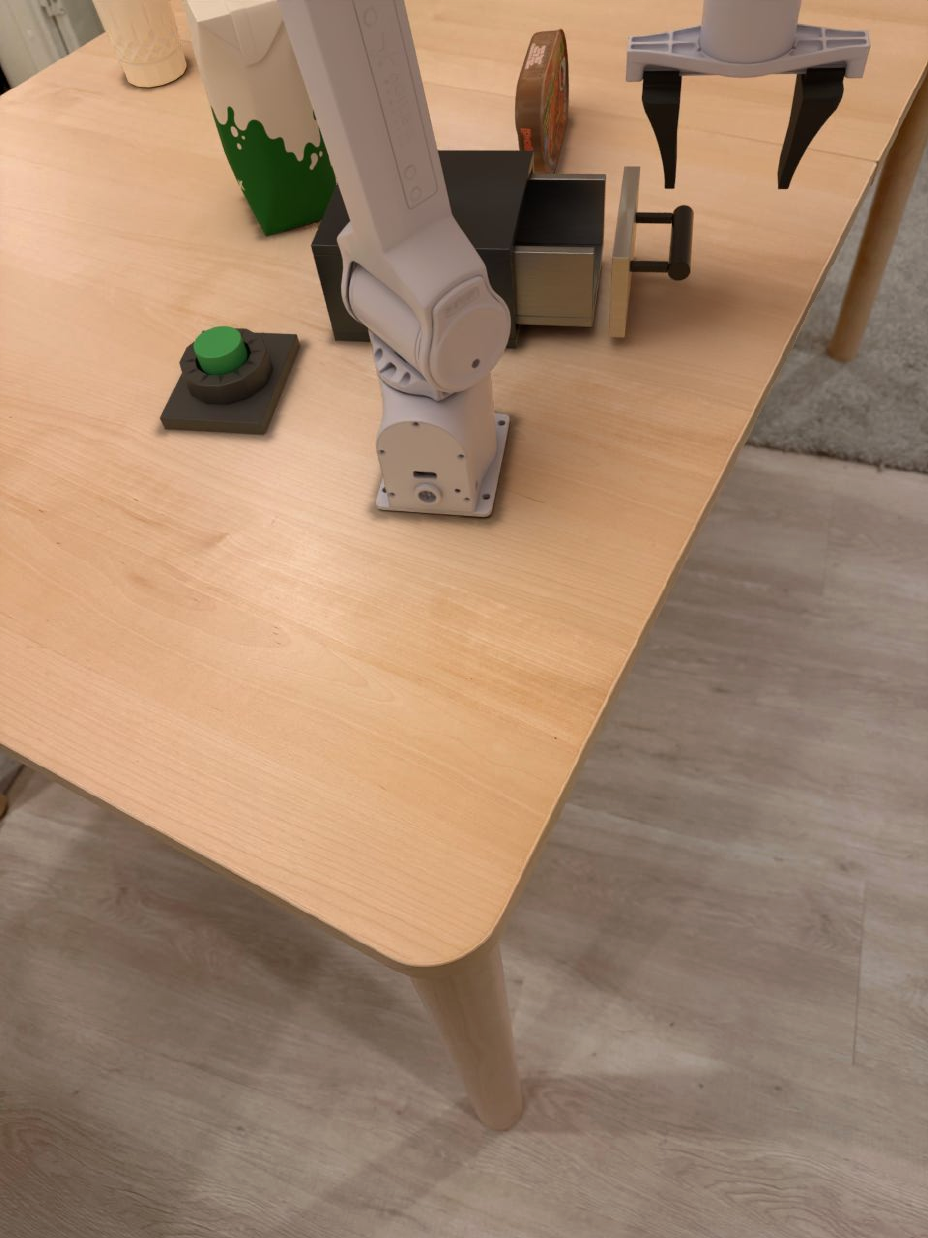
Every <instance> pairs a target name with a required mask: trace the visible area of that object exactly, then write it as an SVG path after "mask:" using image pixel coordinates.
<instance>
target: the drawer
mask: <svg viewBox="0 0 928 1238" xmlns="http://www.w3.org/2000/svg"><path fill="white" fill-rule="evenodd" d="M640 177H641V166H639V165H638V166H635V165H633V166H632V165H630V166H629V165H625V166H624V168H623V174H622V182H621V190H620V195H619V205H618V211H617V212H618V213H617V217H616V218H617V219H616V225H615V226H616V227H615V234H614V241H613V248H612V256H611V273H610V274H611V275H610V276H611V277H610V297H609V319H608V337H609V338H626V329H627V321H628V314H629V313H628V312H629V303H630V294H631V286H632V276H633V273H661V274H667V275H668V277H669V278H670V279H671V280H673V281H676V282H681V281H684V280H686V279H688V277H690V274H691V271H692V270H691V268H692V252H693V251H692V250H693V237H694V236H693V235H694V218H695V217H694V216H695V212H694V209H693V208H692V207H691V206H689V205H687V204H681V205H678V206H677V207H675V208H674V209H673V211H672V212H659V211H657V212H656V211H655V212H654V211H653V212H651V211H649V212H647V211H639V209H638V208H639V196H640V195H639V193H640ZM606 192H607V173H553V174H530V178H529V182H528V187H527V191H526V195H525V200H524V204H523V208H522V213H521V217H520V221H519V225H518V230H517V234H516V238H515V243H514V247H513V251H512V256H513V274H514V291H515V309H516V324H521V325H525V326H527V325H528V326H529V325H531V326H556V327H557V326H558V327H586V328H587V327H589V328H591V327H593V323H594V319H595V318H594V317H595V312H596V311H595V310H596V303H597V296H598V290H599V283H600V276H601V268H602V263H603V262H602V261H603V254H604V248H605V225H606V224H605V222H606V195H607V194H606ZM638 224H649V225H650V224H651V225H652V224H654V225H656V224H657V225H662V224H664V225H670V226H671V227H670V236H669V237H670V238H669V240H670V241H669V249H668V250H669V251H668V261H667V260H663V261H662V260H635V252H636V242H637V241H636V240H637V225H638Z"/></svg>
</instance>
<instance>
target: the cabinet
mask: <svg viewBox="0 0 928 1238" xmlns="http://www.w3.org/2000/svg"><path fill="white" fill-rule="evenodd" d="M437 150H438V154H439V159H440V163H441V167H442V172H443V176H444V181H445V185H446V190H447V194H448V199H449V203H450V208H451V212H452V215H453V217H454V219H455V220H456V222H457V223H458V225H459V226H460V228H461V229H462V231H463V232H464V234H465V235H466V237H467V238H468V240H469V241H470V243H471V244H472V245H473V247H474V248H475V250H476V252H477V253H478V255H479V256H480V258H481V259H482V261H483V262H484V264H485V266H486V270H487V275H488V279H489V283H490V285H491V287H492V289H493V290H494V292H495V293H496V294H498V295H499V296H500V297H501V298H502V299H503V300H504V302H505V303H506V305H507V306H508V309H509V312H510V317H511V328H510V335H509V339H508V343H507V345H506V348H505V349H516V348H517V346H518V340H519V336H520V332H521V327H522V324H516V309H515V291H514V274H513V256H512V251H513V247H514V243H515V238H516V234H517V230H518V225H519V221H520V217H521V213H522V208H523V204H524V200H525V195H526V191H527V187H528V182H529V178H530V174H534V152H533V150H517V149H516V150H513V149H512V150H508V149H507V150H505V149H503V150H502V149H498V150H497V149H496V150H494V149H493V150H491V149H483V150H482V149H481V150H480V149H473V150H472V149H437ZM336 184H337V185H336V188H335V190H334V192H333V195H332V197H331V199H330V202H329V204H328V206H327V209H326V211H325V213H324V216H323V218H322V220H320V223H319V225H318V227H317V230H316V233H315V234H314V237H313V239H312V241H311V244H310V248H311V252H312V256H313V260H314V264H315V267H316V271H317V275H318V279H319V283H320V287H321V291H322V295H323V299H324V303H325V307H326V310H327V314H328V318H329V322H330V326H331V330H332V334H333V339H334V341H335V342H354V343H355V342H357V343H371V340H370V336H369V331H368V327H367V326H365V325H363V324H361V323H359V322H357V321H356V320H355V319H354V318H353V317H352V316H351V315H350V314H349V312H348V311H347V309H346V308H345V305H344V302H343V299H342V294H341V284H342V275H343V258H342V254H341V251H340V248H339V245H338V242H337V237H338V235H339V234H340V233H341V231H342V230H343V229H344V228H345V226H346V225H347V224H348V223H349V222H350V218H349V215H348V212H347V209H346V206H345V203H344V200H343V197H342V194H341V191H340V188H339V185H338V182H336Z"/></svg>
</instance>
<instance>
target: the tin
mask: <svg viewBox="0 0 928 1238" xmlns="http://www.w3.org/2000/svg"><path fill="white" fill-rule="evenodd" d="M569 70H570V69H569V53H568V43H567V38H566V33H565V31H564V30H563V28H558V29H557V30H556V29H555V30H545V31H544V30H543V31H542V30H541V31H536V32H535V33H533V35H532V36H531V38H530V41H529V44H528V47H527V50H526V53H525V56H524V60H523V63H522V66H521V69H520V72H519V76H518V80H517V83H516V88H515V89H516V90H515V98H514V100H515V101H514V124H515V131H516V134H517V141H518V149H519V150H533V152H534V174H555V173H554V172H555V170H556V167H557V164H558V159H559V154H560V152H561V146H562V143H563V140H564V135H565V131H566V129H567V122H568V115H569V103H570V75H569V73H570V71H569Z"/></svg>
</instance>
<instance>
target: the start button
mask: <svg viewBox="0 0 928 1238" xmlns="http://www.w3.org/2000/svg"><path fill="white" fill-rule="evenodd" d="M235 328H236V327H232V326H228V325H218V326H213V327H211V328H208V329H205V330H203V331H204V332H203V333H202V332H201V333H200V334H199V335H197V337H196V338H195V340H194V341H195V342H194V341H193V342H194V351H195V353H196V356H197V358H198V361H199V363H200V365H201V368H202V369H203V371H205V372H206V373H208V374H210V375H224V374H228V373H231V372H234V371H236V370H237V369H239V368H240V367H241V366H243V365H244V364H245V362H246V360H247V356H248V355H247V351H246V348H245V345H244V342H243V339H242V337H241V334H240V333H239V331H238V330H236V329H235Z"/></svg>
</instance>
